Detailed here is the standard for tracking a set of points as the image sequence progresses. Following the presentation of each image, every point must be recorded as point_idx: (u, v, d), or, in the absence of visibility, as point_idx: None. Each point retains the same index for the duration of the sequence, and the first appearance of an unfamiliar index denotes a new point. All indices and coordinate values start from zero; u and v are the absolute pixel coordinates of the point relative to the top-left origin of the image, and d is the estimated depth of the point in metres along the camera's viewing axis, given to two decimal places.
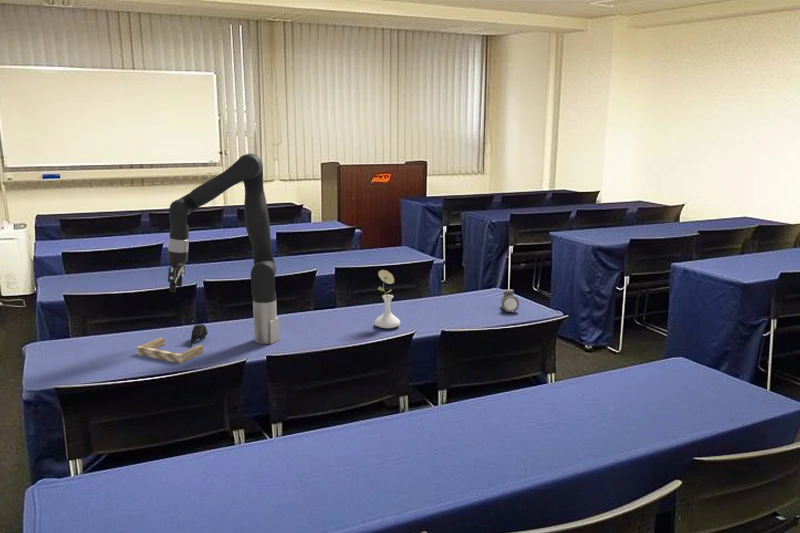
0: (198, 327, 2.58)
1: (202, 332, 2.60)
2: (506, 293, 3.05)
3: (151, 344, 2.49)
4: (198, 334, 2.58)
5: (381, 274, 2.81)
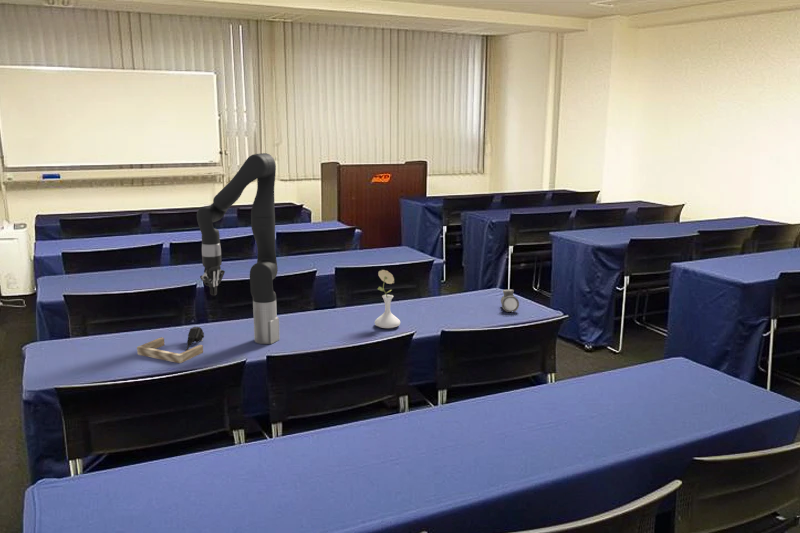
0: (194, 330, 2.55)
1: (198, 335, 2.56)
2: (506, 293, 3.05)
3: (151, 344, 2.49)
4: (194, 337, 2.54)
5: (381, 274, 2.81)
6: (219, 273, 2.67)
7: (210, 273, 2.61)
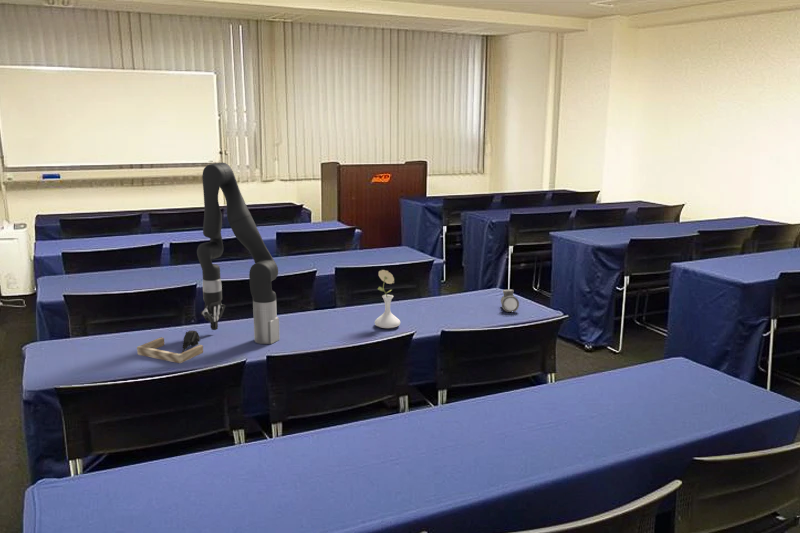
0: (190, 333, 2.51)
1: (194, 339, 2.52)
2: (506, 293, 3.05)
3: (151, 344, 2.49)
4: (190, 341, 2.50)
5: (381, 274, 2.81)
6: (220, 308, 2.70)
7: (211, 308, 2.64)
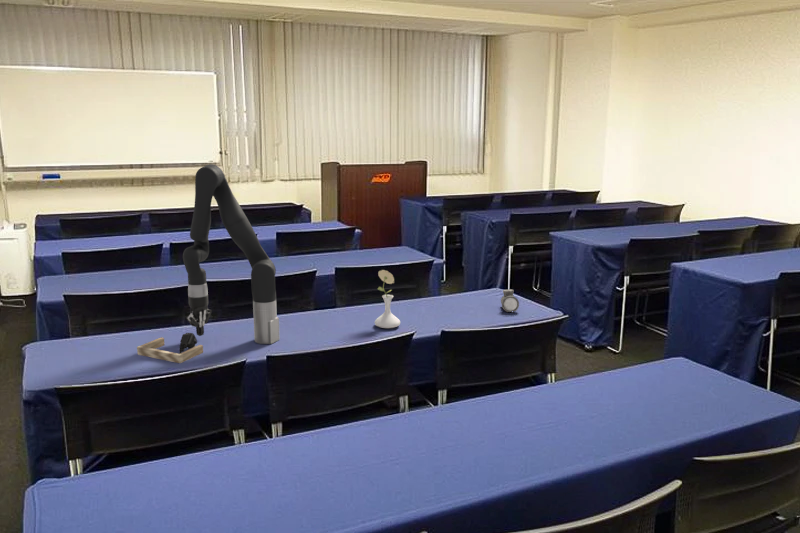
0: (187, 336, 2.48)
1: (191, 341, 2.49)
2: (506, 293, 3.05)
3: (151, 344, 2.49)
4: (187, 343, 2.47)
5: (381, 274, 2.81)
6: (206, 313, 2.63)
7: (196, 314, 2.57)
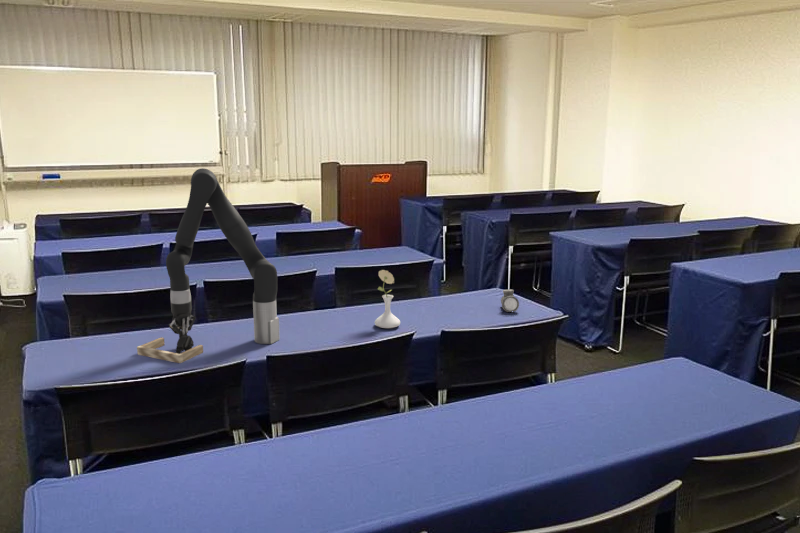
0: (183, 338, 2.45)
1: (188, 344, 2.46)
2: (506, 293, 3.05)
3: (151, 344, 2.49)
4: (183, 346, 2.44)
5: (381, 274, 2.81)
6: (189, 319, 2.54)
7: (179, 321, 2.48)
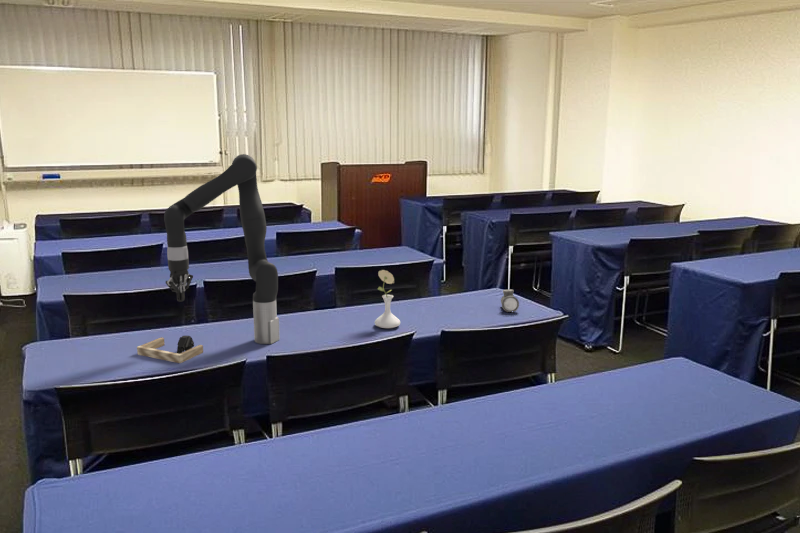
0: (184, 339, 2.45)
1: (188, 344, 2.46)
2: (506, 293, 3.05)
3: (151, 344, 2.49)
4: (184, 346, 2.44)
5: (381, 274, 2.81)
6: (187, 278, 2.50)
7: (176, 278, 2.44)
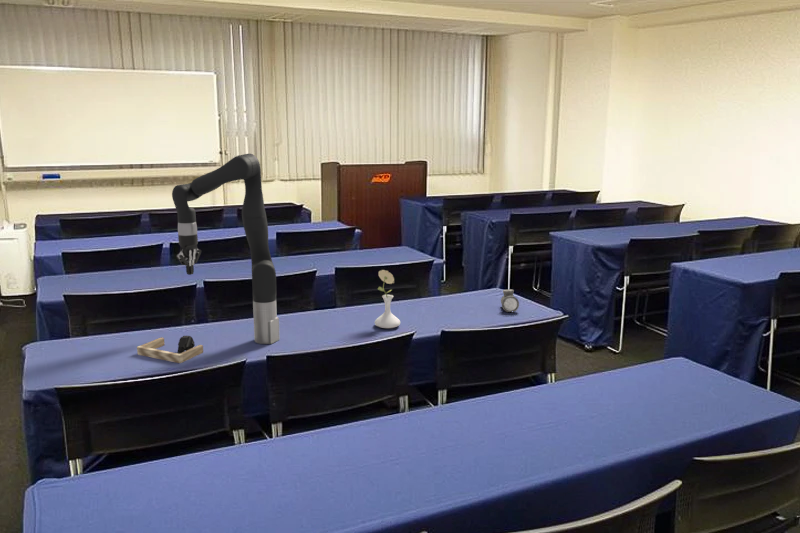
0: (185, 339, 2.45)
1: (189, 344, 2.46)
2: (506, 293, 3.05)
3: (151, 344, 2.49)
4: (185, 346, 2.44)
5: (381, 274, 2.81)
6: (196, 252, 2.68)
7: (186, 252, 2.62)
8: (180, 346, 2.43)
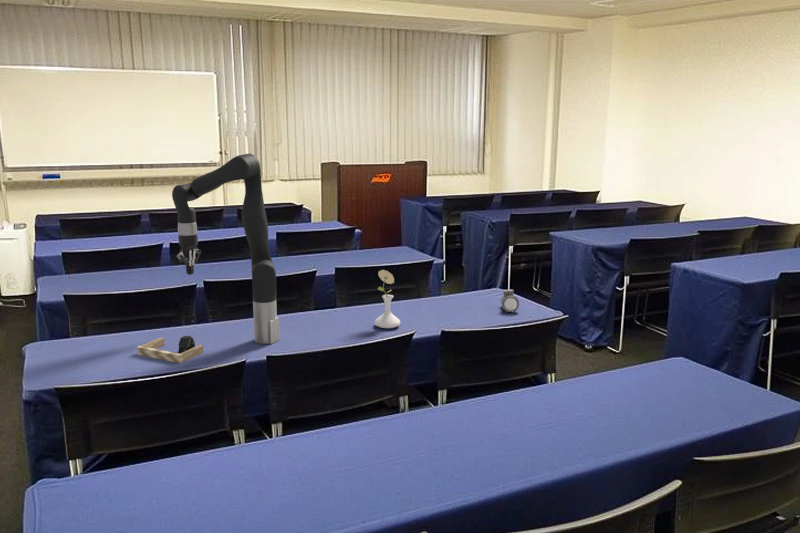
0: (185, 339, 2.45)
1: (190, 344, 2.46)
2: (506, 293, 3.05)
3: (151, 344, 2.49)
4: (185, 346, 2.44)
5: (381, 274, 2.81)
6: (196, 252, 2.68)
7: (186, 252, 2.62)
8: (181, 346, 2.42)
